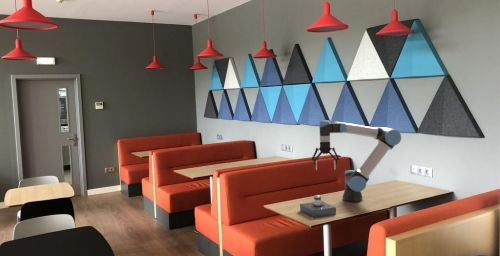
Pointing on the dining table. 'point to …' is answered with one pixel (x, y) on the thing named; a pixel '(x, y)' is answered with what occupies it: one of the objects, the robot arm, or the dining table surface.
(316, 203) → the silver metal cylinder
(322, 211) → the flange plate
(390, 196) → the dining table surface
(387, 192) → the dining table surface
